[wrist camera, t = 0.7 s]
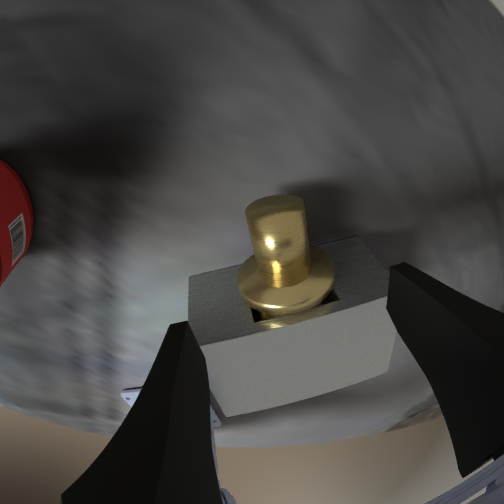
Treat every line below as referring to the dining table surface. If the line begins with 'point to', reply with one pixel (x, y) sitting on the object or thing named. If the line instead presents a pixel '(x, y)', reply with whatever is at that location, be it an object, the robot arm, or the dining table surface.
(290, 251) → the brass flanged cylinder
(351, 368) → the housing
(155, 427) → the robot arm
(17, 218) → the canned food
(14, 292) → the dining table surface
